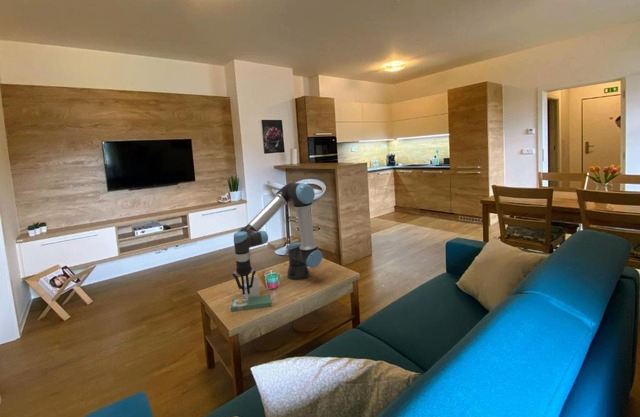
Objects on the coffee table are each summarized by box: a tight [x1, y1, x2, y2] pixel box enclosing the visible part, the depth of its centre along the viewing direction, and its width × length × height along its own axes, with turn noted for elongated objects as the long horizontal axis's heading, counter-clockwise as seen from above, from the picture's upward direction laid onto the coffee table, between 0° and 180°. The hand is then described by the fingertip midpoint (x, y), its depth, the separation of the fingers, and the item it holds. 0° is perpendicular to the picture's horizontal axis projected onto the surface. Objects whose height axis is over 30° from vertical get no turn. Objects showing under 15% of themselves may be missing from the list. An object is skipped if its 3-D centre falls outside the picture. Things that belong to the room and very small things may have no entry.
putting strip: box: [230, 294, 272, 313], centre depth 191 cm, size 22×10×2 cm, turn 100°
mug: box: [240, 276, 261, 298], centre depth 200 cm, size 9×12×11 cm
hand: (246, 299), depth 190 cm, fingers closed
